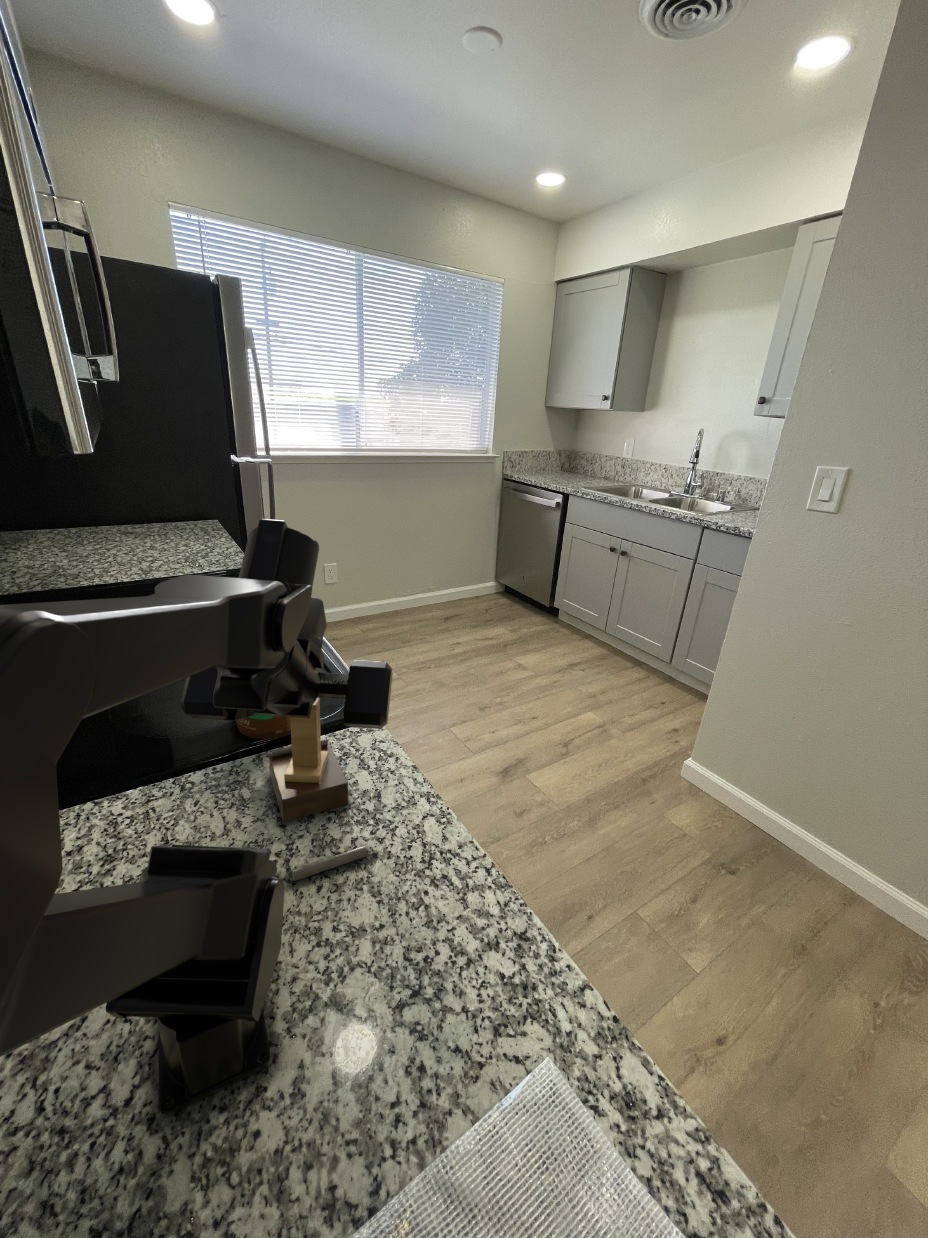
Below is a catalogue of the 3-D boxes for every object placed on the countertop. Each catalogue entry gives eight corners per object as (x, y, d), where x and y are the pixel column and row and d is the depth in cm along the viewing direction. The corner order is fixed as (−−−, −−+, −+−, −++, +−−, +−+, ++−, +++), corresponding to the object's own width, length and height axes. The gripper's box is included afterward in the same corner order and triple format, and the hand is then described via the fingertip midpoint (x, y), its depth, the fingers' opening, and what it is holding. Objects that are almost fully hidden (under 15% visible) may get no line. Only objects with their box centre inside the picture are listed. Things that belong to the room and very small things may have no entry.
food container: (205, 724, 68) (197, 657, 65) (243, 704, 74) (237, 641, 70) (272, 756, 63) (267, 686, 60) (307, 733, 69) (305, 667, 65)
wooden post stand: (319, 783, 55) (317, 704, 52) (284, 781, 55) (279, 702, 51) (329, 756, 60) (327, 682, 56) (296, 755, 59) (292, 680, 56)
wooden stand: (371, 857, 51) (372, 827, 49) (294, 883, 47) (292, 853, 46) (329, 762, 63) (328, 736, 62) (265, 777, 60) (263, 750, 58)
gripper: (394, 587, 46) (400, 646, 60) (180, 571, 44) (238, 635, 59) (381, 710, 41) (391, 742, 55) (143, 696, 40) (216, 732, 54)
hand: (309, 709), depth 56 cm, fingers open, 9 cm apart
